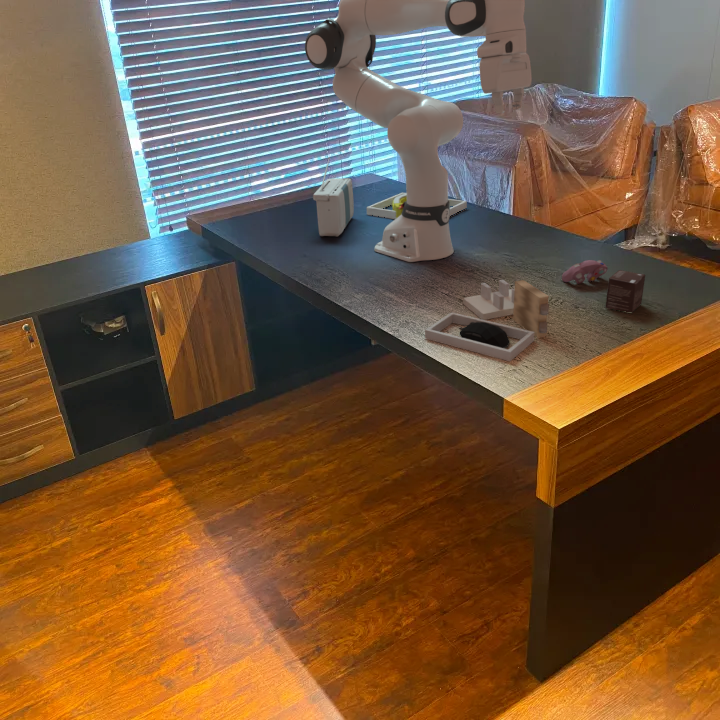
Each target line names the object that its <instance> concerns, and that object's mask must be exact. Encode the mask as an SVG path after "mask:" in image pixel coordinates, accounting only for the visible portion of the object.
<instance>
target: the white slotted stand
mask: <svg viewBox="0 0 720 720" xmlns="http://www.w3.org/2000/svg"><path fill="white" fill-rule="evenodd" d="M514 291H515V287H514V288H510V283H509V282H507V281H506V280H504V279H499V280H498V291H493V292H492V286H490V285H489V284H487V283H486V282H481V283H480V294H477V295H472V296H467V297H462V304H463V305H464V306H465V307H466V308H467V309H469V311H471V312H472V313H474V314H475V315H476V316H477V318H479V319H482V320H486V321H488V320H491V319H496V318H502V317H507V316H512V315H513V312H514Z"/></svg>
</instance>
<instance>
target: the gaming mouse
mask: <svg viewBox="0 0 720 720" xmlns="http://www.w3.org/2000/svg"><path fill="white" fill-rule="evenodd" d="M457 328H458V329H459V337H462V338H466V339H469V340H473V341H477V342H481V343H485V344H489V345H492V346H496V347H500V348H504V349H506V348H508V347H509V344H510V343H511V342H510V339H509V336H507V334H506V332H505V331H503V330H502V329H501V328H500V327H498V326H495V325H492V324H488V323H485V322H475V323H474V322H471V323H470V324H469V325H468V326H465V327H457Z"/></svg>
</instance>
